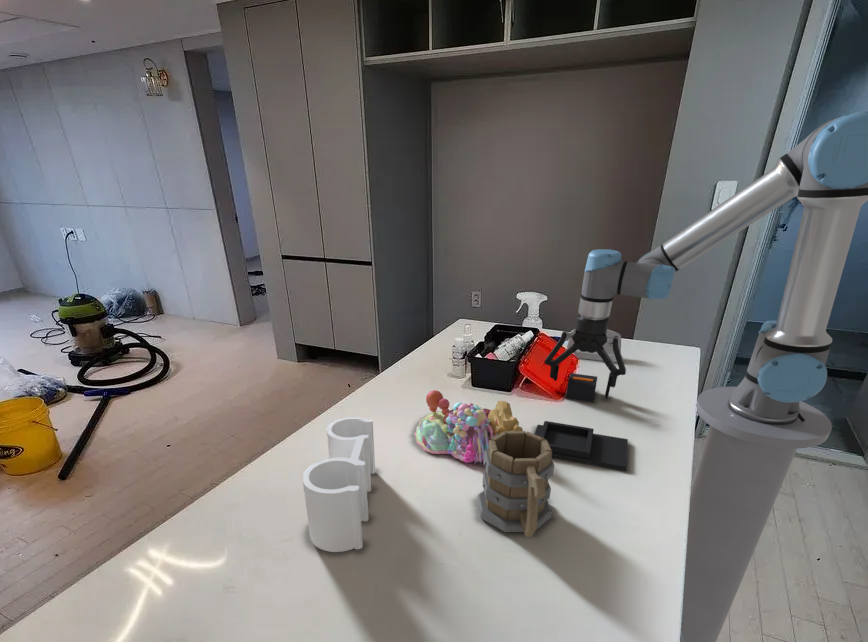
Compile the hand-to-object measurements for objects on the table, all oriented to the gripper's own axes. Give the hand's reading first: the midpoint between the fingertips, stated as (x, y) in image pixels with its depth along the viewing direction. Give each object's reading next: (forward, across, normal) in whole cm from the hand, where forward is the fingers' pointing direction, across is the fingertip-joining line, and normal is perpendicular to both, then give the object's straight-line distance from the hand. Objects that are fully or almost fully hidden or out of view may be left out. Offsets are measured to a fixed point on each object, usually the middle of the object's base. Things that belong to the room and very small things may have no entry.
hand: (579, 393), depth 136 cm
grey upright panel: (+1, -1, -31) cm, 31 cm away
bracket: (+1, +37, +64) cm, 74 cm away
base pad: (0, -2, +28) cm, 28 cm away
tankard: (+1, +6, +58) cm, 58 cm away
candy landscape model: (+1, +22, +32) cm, 39 cm away
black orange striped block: (0, 0, 0) cm, 1 cm away
